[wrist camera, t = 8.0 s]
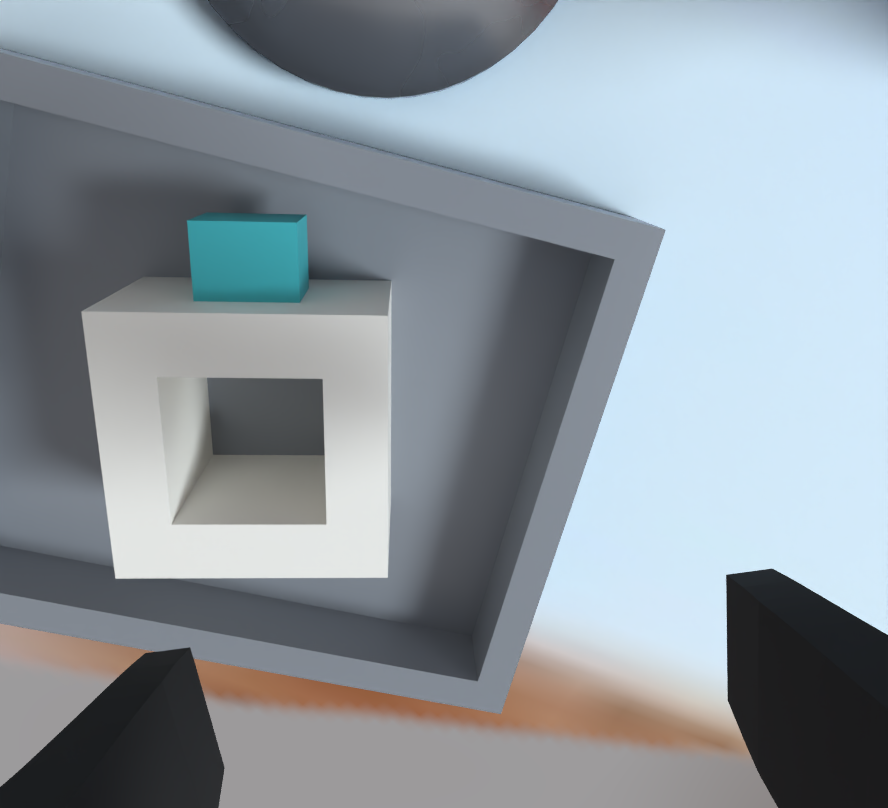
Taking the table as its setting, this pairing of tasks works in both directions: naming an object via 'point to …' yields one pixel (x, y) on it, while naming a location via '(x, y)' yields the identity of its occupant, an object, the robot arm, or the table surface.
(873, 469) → the table surface
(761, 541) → the table surface
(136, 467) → the collar
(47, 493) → the tray
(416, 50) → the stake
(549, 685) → the table surface
